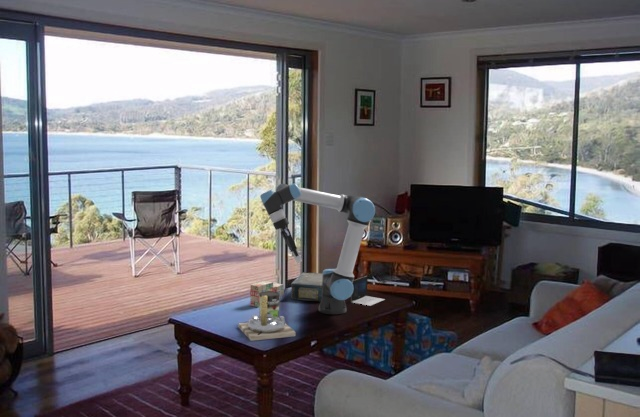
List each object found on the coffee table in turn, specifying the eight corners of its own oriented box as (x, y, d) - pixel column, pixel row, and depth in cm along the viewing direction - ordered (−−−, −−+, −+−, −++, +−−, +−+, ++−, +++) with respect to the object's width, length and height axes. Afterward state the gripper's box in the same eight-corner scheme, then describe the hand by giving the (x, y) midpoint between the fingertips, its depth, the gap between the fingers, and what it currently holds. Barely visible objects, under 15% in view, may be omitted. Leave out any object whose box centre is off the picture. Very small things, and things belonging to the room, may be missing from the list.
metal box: (289, 300, 383) (289, 283, 382) (301, 287, 415) (301, 271, 413) (325, 302, 379) (326, 285, 378) (335, 289, 411) (335, 273, 409)
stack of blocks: (275, 298, 385) (275, 277, 384) (283, 300, 382) (283, 279, 380) (250, 305, 368) (250, 284, 367) (258, 307, 365) (258, 286, 363)
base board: (238, 327, 328) (238, 323, 328) (280, 323, 337) (280, 319, 336) (250, 340, 308) (250, 336, 308) (295, 336, 316) (295, 331, 316)
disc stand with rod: (252, 320, 332) (252, 287, 330) (288, 322, 330) (288, 289, 328) (243, 331, 314) (244, 296, 312) (281, 333, 312) (281, 298, 310)
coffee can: (282, 321, 341) (283, 294, 339) (265, 324, 334) (266, 297, 333) (272, 316, 349) (272, 290, 347) (255, 319, 343) (255, 292, 341)
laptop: (369, 307, 372) (370, 284, 370) (350, 303, 379) (351, 280, 377) (385, 300, 387) (385, 278, 385) (366, 297, 394) (367, 275, 392)
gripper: (270, 223, 338) (291, 265, 339) (274, 222, 325) (295, 265, 326) (283, 217, 340) (303, 258, 341) (287, 215, 327) (308, 258, 328)
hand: (299, 262), depth 333 cm, fingers closed
